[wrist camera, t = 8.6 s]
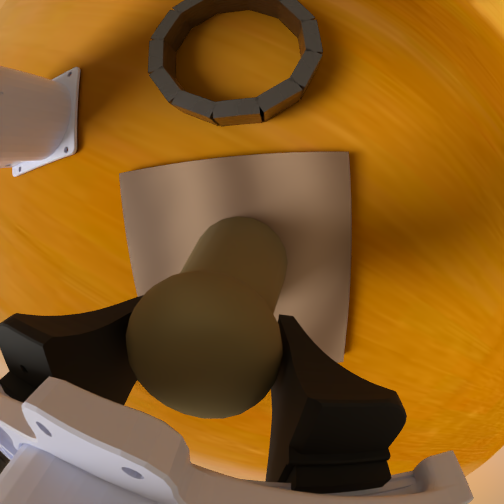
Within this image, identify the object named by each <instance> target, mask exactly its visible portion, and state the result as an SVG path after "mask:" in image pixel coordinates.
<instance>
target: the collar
mask: <svg viewBox="0 0 504 504" xmlns="http://www.w3.org/2000/svg"><path fill="white" fill-rule="evenodd" d="M173 9H174V10H170V11H169V12H168V13H167V15H166V16H165V18H164V19H163V20H162V22H161V23H160V25H159V26H158V28H157V29H156V31H155V32H154V34H153V35H152V37H151V39H152V40H151V41H149V61H148V73H149V74H150V75H149V76H150V77H151V79H152V80H153V81H154V83H155V84H156V86H157V87H158V88H159V90H160V91H161V92H162V94H163V95H164V97H165V98H166V99H167V101H168V102H169V103H171V104H172V105H173V106H175V107H176V108H178V109H179V110H181V111H182V112H184V113H186V114H188V115H191V116H194V117H197V118H199V119H202V120H204V121H207V122H209V123H212V124H214V125H217V126H218V125H219V124H220V125H221V126H230V125H239V124H250V123H262V119H261V116H262V118H263V119H264V120H265V121H267V120H268V119H270V118H272V117H273V116H275V115H277V114H278V113H280V112H282V111H283V110H285V109H287V108H288V107H290V106H292V105H293V104H295V103H297V102H299V99H301V98H302V96H303V94H304V92H305V91H306V89H307V87H308V85H309V83H310V81H311V79H312V77H313V76H314V74H315V72H316V70H317V68H318V65H319V62H320V60H321V57H322V53H323V49H322V44H321V39H320V34H319V29H318V24H317V20H315V17H314V16H313V15H312V14H311V13H310V12H309V11H308V10H307V9H306V8H305V7H304V6H303V5H301V4H300V3H299V2H298V1H297V0H184V1H183V2H181V3H179V4H178V5H176V6H175V7H173ZM241 10H252V11H256V12H259V13H262V14H266V15H269V16H272V17H275V18H278V19H279V20H280V21H281V22H282V23H283V24H284V25H285V26H286V27H287V28H288V29H289V30H290V31H291V32H292V33H293V34H294V35H295V36H296V37H297V38H298V42H299V48H300V54H301V59H300V61H299V62H298V64H297V66H296V68H295V69H294V71H293V73H292V75H291V77H290V78H289V79H287V80H285V81H283V82H281V83H280V84H278V85H276V86H274V87H273V88H271V89H269V90H268V91H266V92H264V93H262V94H261V95H259V96H258V97H256V98H245V99H235V100H226V101H219V102H214V101H211V100H208V99H205V98H202V97H200V96H197V95H194V94H191V93H188V92H186V91H185V90H184V89H183V87H182V86H181V85H180V84H179V82H178V81H177V80H176V52H177V50H178V48H179V47H180V45H181V44H182V42H183V41H184V39H185V38H186V36H187V35H188V33H189V32H190V30H191V29H192V28H194V27H195V26H197V25H199V24H200V23H202V22H204V21H205V20H207V19H209V18H211V17H212V16H214V15H216V14H218V13H225V12H232V11H241Z"/></svg>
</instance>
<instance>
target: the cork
mask: <svg viewBox="0 0 504 504" xmlns="http://www.w3.org/2000/svg"><path fill="white" fill-rule="evenodd" d="M287 264H288V262H287V256H286V250H285V247H284V246H283V244H282V242H281V240H280V238H279V236H278V235H277V234H276V233H275V232H274V231H273V230H272V229H271V228H270V227H268V226H267V225H266V224H264V223H262V222H260V221H257V220H255V219H253V218H247V217H239V216H236V217H231V218H226V219H222V220H220V221H218V222H216V223H215V224H213V225H211V226H210V227H209V228H208V229H207V230H206V231H205V232H204V233H203V235H202V236H201V237H200V238H199V240H198V242H197V244H196V245H195V247H194V249H193V251H192V253H191V254H190V256H189V258H188V260H187V261H186V263H185V265H184V267H183V269H182V271H181V272H180V273H179V274H175V275H172V276H170V277H168V278H166V279H165V280H163V281H161V282H159V283H157V284H156V285H154V286H153V287H152V288H150V289H149V290H148V291H147V292H146V293H145V294H144V296H143V297H142V298H141V300H140V301H139V302H138V303H137V305H136V306H135V307H134V309H133V312H132V314H131V316H130V319H129V323H128V327H127V332H126V347H127V353H128V360H129V364H130V366H131V368H132V370H133V372H134V374H135V376H136V378H137V380H138V381H139V382H140V383H141V384H142V386H143V387H144V388H145V389H146V390H147V391H148V392H149V393H150V394H151V395H152V396H153V397H155V398H156V399H157V400H159V401H160V402H162V403H163V404H164V405H166V406H168V407H170V408H172V409H174V410H177V411H179V412H181V413H183V414H187V415H191V416H196V417H200V418H226V417H231V416H235V415H238V414H241V413H243V412H245V411H246V410H248V409H250V408H251V407H253V406H255V405H256V404H257V403H258V402H260V401H261V400H262V399H263V398H264V397H265V396H266V394H267V393H268V392H269V391H270V389H271V388H272V387H273V385H274V384H275V381H276V379H277V377H278V374H279V370H280V366H281V361H282V357H283V346H282V340H281V334H280V329H279V324H278V322H277V320H276V318H275V317H274V315H273V314H274V311H275V308H276V305H277V302H278V299H279V296H280V292H281V289H282V286H283V283H284V280H285V276H286V270H287Z"/></svg>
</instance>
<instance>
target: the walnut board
mask: <svg viewBox="0 0 504 504" xmlns="http://www.w3.org/2000/svg"><path fill="white" fill-rule="evenodd" d="M119 177H120V188H121V198H122V207H123V215H124V223H125V230H126V237H127V243H128V249H129V255H130V261H131V266H132V271H133V276H134V281H135V286H136V291H137V295H138V297H139V296H142V295H144V294H145V293H146V292H147V291H148V290H149V289H150V288H152V287H153V286H154V285H156V284H157V283H159V282H161V281H163V280H165V279H166V278H168V277H170V276H172V275H175V274H179V273H180V272H181V271H182V269H183V267H184V265H185V263H186V261H187V260H188V258H189V256H190V254H191V253H192V251H193V249H194V247H195V245H196V244H197V242H198V240H199V238H200V237H201V236H202V235H203V233H204V232H205V231H206V230H207V229H208V228H209V227H210V226H211V225H213V224H215V223H216V222H218V221H220V220H222V219H226V218H231V217H236V216H239V217H247V218H253V219H255V220H257V221H260V222H262V223H264V224H266V225H267V226H268V227H270V228H271V229H272V230H273V231H274V232H275V233H276V234H277V235H278V236H279V238H280V240H281V242H282V244H283V246H284V247H285V250H286V256H287V262H288V264H287V270H286V276H285V280H284V283H283V286H282V289H281V292H280V296H279V299H278V302H277V305H276V308H275V311H274V314H273V315H274V317H275V318H276V320H277V322H278V318H279V314H282V315H289V316H294V318H295V319H296V320H297V322H298V323H299V324H300V326H301V327H302V328H303V330H304V331H305V332H306V333H307V335H308V336H309V337H310V338H311V339H312V340H313V342H314V343H315V344H316V345H317V346H318V347H319V348H320V349H321V350H322V351H323V352H324V353H325V354H327V355H328V356H329V357H330V358H331V359H333V360H334V361H335V362H336V363H337V362H343V358H344V350H345V341H346V332H347V321H348V309H349V295H350V276H351V242H352V216H351V182H350V163H349V152H293V153H272V154H257V155H244V156H233V157H223V158H213V159H205V160H197V161H189V162H182V163H175V164H169V165H163V166H157V167H151V168H145V169H140V170H135V171H129V172H124V173H120V174H119Z"/></svg>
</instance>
